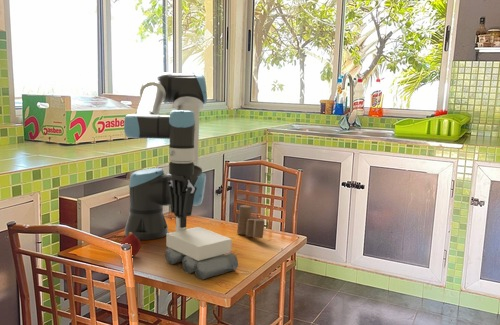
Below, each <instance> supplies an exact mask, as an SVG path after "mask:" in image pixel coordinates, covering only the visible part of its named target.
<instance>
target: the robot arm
mask: <svg viewBox="0 0 500 325" xmlns="http://www.w3.org/2000/svg"><path fill="white" fill-rule="evenodd" d="M139 90H140V92H139V95H140V98H139V101H138V104H137V107H136V110H135V111H134V112H135V113H131V114H126V115H125V116H124V121H123V130H124V135H125V137H126V138H129V139H130V138H131V139H161V140H162V139H163V140H165V139H167V140H169V145H168V147H169V150H168V151H169V152H168V154H169V155H168V156H169V157H168V160H169V163H168V172H164V170H163V168H160V167H159V168H158V167H154V168H153V167H152V168H146V169H145V168H143V169H140V170H136V171H134V172H132V173H131V174H130V176H129V185H128V187H129V215H128V218H127V221H126V224H125V227H124V236H125V237H126V236H128V235H129V232H132V233H133V234H134V235H135V236H136V237H138V239H139V240H140V241H145V240H147V241H148V240H157V239H161V238H164V237H166V233H169V229H168V227H169V226H168V224H167V220H166V218H165V215H164V214H165V213H164V207H165V206H168V207H170V213H171V214H172V213H173V214H174V216H175V231H180V230H185V229H187V219H188V218H187V217H190V216H192V211H193V208H194V206H196V207H197V206H200V205H202V203H203V201H204V200H203V199H204V196H205V189H206V181H207V174H206V173H204V172H203V168H202V167H201V166H200V165H199V147H200V146H199V142H200V141H199V139H200V134H199V133H200V111H202V109H204V105H206V104H207V103H208V93H207V84H206V78H205V76H204V74H202V73H201V74H200V73H195V72H192V73H187V72H186V73H185V72H184V73H180V72H161V73H157V74H155V75H153V76H151V77H150V78H148V79H146V80H145V81H144V82H143V83H142V85H141V88H140V89H139ZM163 103H171V104H172V106H173V108H174V110H173V109H172V110H171V111H170V113H169V115H167V114H165V115H164V114H159V113H160V110H161V106H162V104H163Z"/></svg>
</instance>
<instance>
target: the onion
mask: <svg viewBox="0 0 500 325" xmlns="http://www.w3.org/2000/svg"><path fill="white" fill-rule="evenodd" d="M125 243H128V244H131V246H132V255H133V257H134V256H136V255H137V254H138V253H139V252H140V250H141V247H142V244H141V240H139V239H138V237H136V236H135V235H134V234H133V233H132V232H129V235H128V236H125V237H124V238H123V240H122V242H121V245H122V244H125Z"/></svg>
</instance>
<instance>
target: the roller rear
mask: <svg viewBox="0 0 500 325" xmlns="http://www.w3.org/2000/svg"><path fill="white" fill-rule="evenodd" d="M185 256H187V255H185V254H182V253H180V252H178V251H176V250H174V249H171V248H169V247H167V248H166V249H165V252H164V257H165V261H166V262H167V263H168V264H170V265H174V264H180V263H182V260H183V258H184V257H185Z"/></svg>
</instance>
